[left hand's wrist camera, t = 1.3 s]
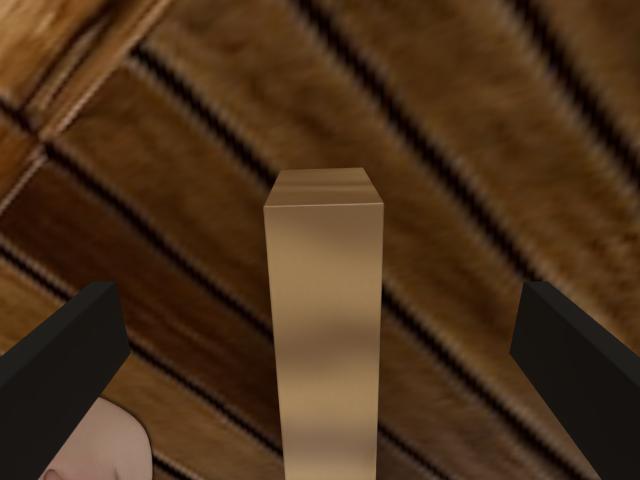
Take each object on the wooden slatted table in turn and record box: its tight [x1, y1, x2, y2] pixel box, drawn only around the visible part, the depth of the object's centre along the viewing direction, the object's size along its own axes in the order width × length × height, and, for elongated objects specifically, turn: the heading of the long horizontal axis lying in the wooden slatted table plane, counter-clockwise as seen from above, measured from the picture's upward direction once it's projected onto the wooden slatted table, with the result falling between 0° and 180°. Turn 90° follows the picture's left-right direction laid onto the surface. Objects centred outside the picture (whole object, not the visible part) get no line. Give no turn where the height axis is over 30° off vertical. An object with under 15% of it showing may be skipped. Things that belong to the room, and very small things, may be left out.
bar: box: [263, 168, 384, 480], centre depth 26 cm, size 26×5×9 cm, turn 2°
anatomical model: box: [38, 397, 152, 480], centre depth 31 cm, size 13×4×12 cm
